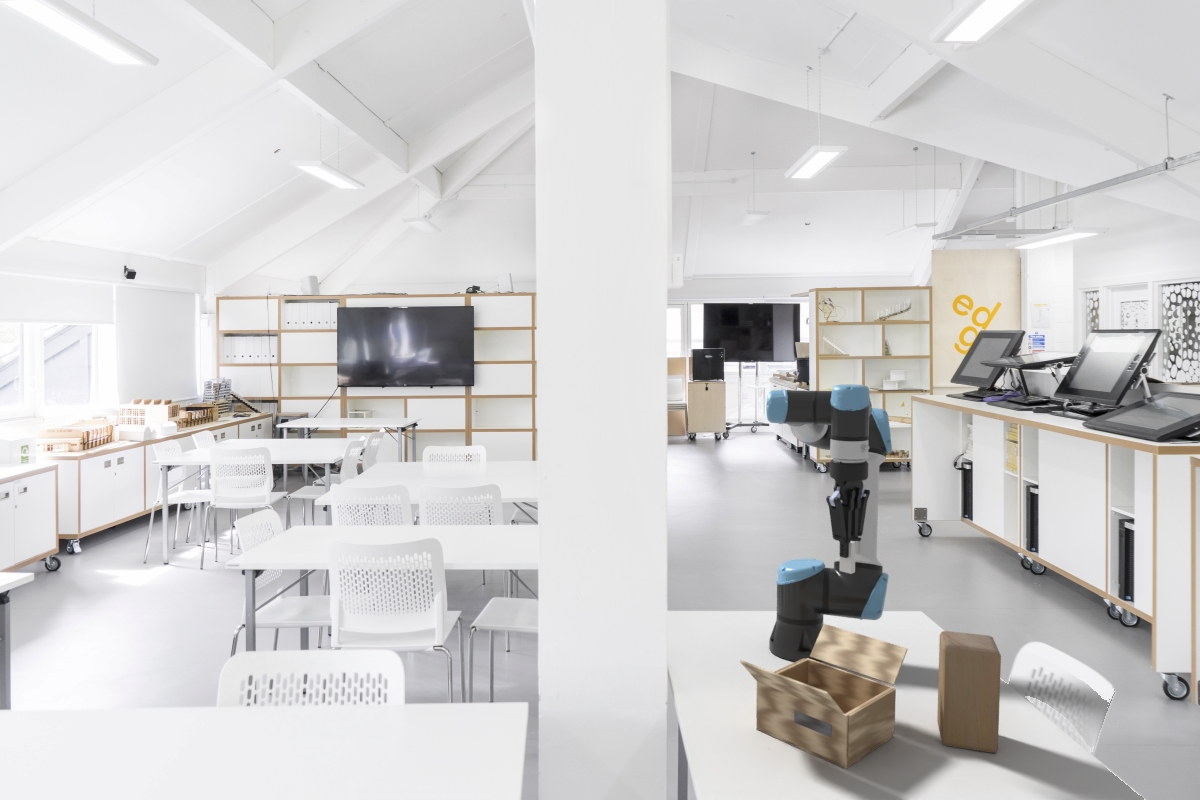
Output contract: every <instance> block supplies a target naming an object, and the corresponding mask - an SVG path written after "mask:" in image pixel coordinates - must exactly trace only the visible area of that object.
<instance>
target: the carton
mask: <svg viewBox="0 0 1200 800" xmlns="http://www.w3.org/2000/svg"><path fill="white" fill-rule="evenodd" d="M774 672H775V673H777V674H780V675H783V676H785V677H788V678H791V679H794V680H796V681H799V682H802V683H804V684H807V685H810V686H812V687H815V688H818V689H821V690H823V691H826V692H828V694H829V695H830V696H831V697H832V699H833V700H834V701H835V702H836V704H837V705H838V706H839V707H840V709H841V710H842V711H843V713H844V714H843V715H842V714H839V713H837V712H834V711H832V710H829V709H826V708H824V707H821V706H819V705H816V704H814V703H811V702H808V701H806V700H803V699H801V698H798V697H796V696H793V695H790V694H788V693H785V692H783V691H780V690H778V689H775V688H772V687H770V686H767V685H765V684H762V683H760V682H757V681H756V714H755V715H756V717H755V718H756V728H755V729H756V730H757V731H760V732H762V733H764V734H766V735H768V736H770V737H773V738H775V739H777V740H780V741H782V742H783V743H786V744H788V745H791V746H793V747H795V748H797V749H800V750H802V751H804V752H806V753H808V754H811V755H813V756H815V757H818V758H820V759H822V760H825V761H826V762H828V763H831V764H834V765H836V766H837V767H840V768H842V769H844V770H846V769H848V768H849V767H850V766H852V765H854V764H855V763H857V762H858V761H860V760H861V759H862V758H864V757H866V756H867V755H869V754H870V753H872V752H873V751H874V750H876V749H878V748H879V747H881V746H882V745H883V744H885V743H886V742H888V741H889V740H891V739H892V738H894V734H895V729H896V722H895V721H896V699H897V698H896V693H897V689H896V688H895V687H894V686H891V685H888V684H885V683H882V682H879V681H876V680H873V679H872V678H871V679H870V678H867V677H865V676H862V675H859V674H857V673H856V674H855V673H853V672H850V671H847V670H844V669H842V668H838V667H835V666H832V665H829V664H828V663H823V662H821V661H815V660H812V659H809V658H807V659H805V658H803V659H801V660H799V661H793V663H792V662H791V663H790V664H788V665H786V666H783V667H782V668H779V669H777V670H775V671H774Z"/></svg>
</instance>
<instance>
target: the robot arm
mask: <svg viewBox="0 0 1200 800" xmlns="http://www.w3.org/2000/svg"><path fill="white" fill-rule="evenodd" d="M870 393H871V392H870V388H869V387H868V386H867V385H863V384H851V383H850V384H846V383H845V384H836V385H833V387H832V388H831V390H795V389H793V390H792V389H780V390H779V389H778V390H777V389H776V390H775V389H774V390H770V391H769V392H768V394H767V396H766V397H767V398H766V406H765V407H766V409H765V410H766V411H765V412H766V418H767V421H768V422H769V423H771V424H779V425H785V424H786V425H787V426H788V427H789V428H790V431H791V433H792V435H793V436H794V437H795V438H796V439H797V440H798V441H800V442H801V443H803V444H805V445H808V446H811V447H814V448H815V449H821V450H825V451H829V455H830V456H829V457H830V458H831V460H830V461H829V476H830V478H831V479H833V480H834V486H833V493H832V495H831V496H830V495H826V497H825V499H826V500H825V501H826V503H827V505H828V510H829V516H830V517H829V518H830V525H831V532H832V533H831V534H832V538H833V540H834V541H838V542H839V556H838V557H837V558H835V559H834V561H833V568H832V567H826V564H825V562H824V561H823V560H821V559H816V558H796V559H792V560H791V559H790V560H787V561H784V562H783V563H781V564H780V565H779V566H778V569H777V575H776V576H777V577H776V580H775V582H776V620H775V623H774V625H773V629H772V632H771V634H770V637H769V639H768V640H769V643H768V644H769V645H768V646H769V647H768V649H769V651H770V652H771V653H772V654H773V655H775V656H776V657H779V658H781V659H784V660H788V661H793V662H797V661H799V660H801V659H803V658H805V659H807V658H809V659H812V660H815V661H818V662H821V660H818V659H815V658H812V657H810V654H811V652H812V650H813V647H814V645H815V643H816V640H817V638H818V636H819V633H820V631H821V629H822V627H823V624H824V616H832V617H833V616H834V617H841V618H848V619H857V620H858V619H859V620H860V621H864V620H867V621H868V620H869V621H870V620H871V621H878V620H879V619H881V617H882V616H883V612H884V607H885V601H886V596H887V595H886V594H887V590H888V583H889V574H888V573H886V572H884V571H883V568H884V567H883V564H882V563H881V562H880V561H879V560H878V557H877V556H878V554H877V553H878V551H877V549H878V546H877V545H878V523H879V522H878V520H879V519H878V518H879V516H878V515H879V491H880V490H879V486H880V466H881V465H882V464H883V463H884V462H885V461H886V459H887V454H891V453H892V450H893V449H892V447H893V446H892V439H891V438H892V437H891V430H890V429H891V428H890V427H891V426H890V420H889V419H890V418H889V414H888V412H887V411H886V409H883V408H878V407H877V408H875V407H872V406H873V405H872V402H871V397H870Z"/></svg>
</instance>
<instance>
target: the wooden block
mask: <svg viewBox="0 0 1200 800" xmlns="http://www.w3.org/2000/svg"><path fill="white" fill-rule="evenodd" d="M938 646H939V648H938V649H939V650H938V651H939V653H938V680H937V681H938V684H937V685H938V688H937V717H936V718H937V720H936V721H937V726H938V731H939V737H940V741H941V743H942V745H944V746H946V747H947V746H948V747H955V748H961V749H967V750H974V751H980V752H987V753H992V754H993V753H996V752H997V750H998V749H999V728H1000V727H999V726H1000V701H1001V700H1000V697H1001V695H1000V694H1001V693H1000V692H1001V669H1002V668H1001V665H1002V664H1001V663H1002V662H1001V661H1002V656H1001V655H1002V654H1001V653H1000V651H999V648H998V646H997V644H996V641H995V639H994V637H993V636H991V635H985V634H978V633H971V632H970V633H969V632H968V633H967V632H960V631H959V632H958V631H950V630H943V631H941V632H940V634H939V644H938Z"/></svg>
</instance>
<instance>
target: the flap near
mask: <svg viewBox="0 0 1200 800" xmlns="http://www.w3.org/2000/svg"><path fill="white" fill-rule="evenodd" d="M739 662H740V664H741V665H742V666H743V667H744V669H746V670H747V672H748V673H749V675H751V676H752V677H753V679H754V680H755V681H756V683H757V682H760V683H762V684H765V685H767V686H770V687H772V688H775V689H778V690H780V691H783V692H785V693H788V694H790V695H793V696H796V697H798V698H801V699H803V700H806V701H808V702H811V703H814V704H816V705H819V706H821V707H824V708H826V709H829V710H832V711H834V712H837V713H839V714H842V715H843V714H844V713H843V711H842V710H841V709H840V707H839V706H838V705H837V704H836V702H835V701H834V700H833V699H832V697H831V696H830V695H829V694H828V692H826V691H823V690H821V689H818V688H815V687H812V686H810V685H807V684H804V683H802V682H799V681H796V680H794V679H791V678H788V677H785V676H783V675H780V674H777V673H775V671H773V670H772V671H771V670H769V669H766V668H764V667H761V666H758V665H755V664H753V663H750V662H747V661H744V660H742V659H740V661H739Z"/></svg>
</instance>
